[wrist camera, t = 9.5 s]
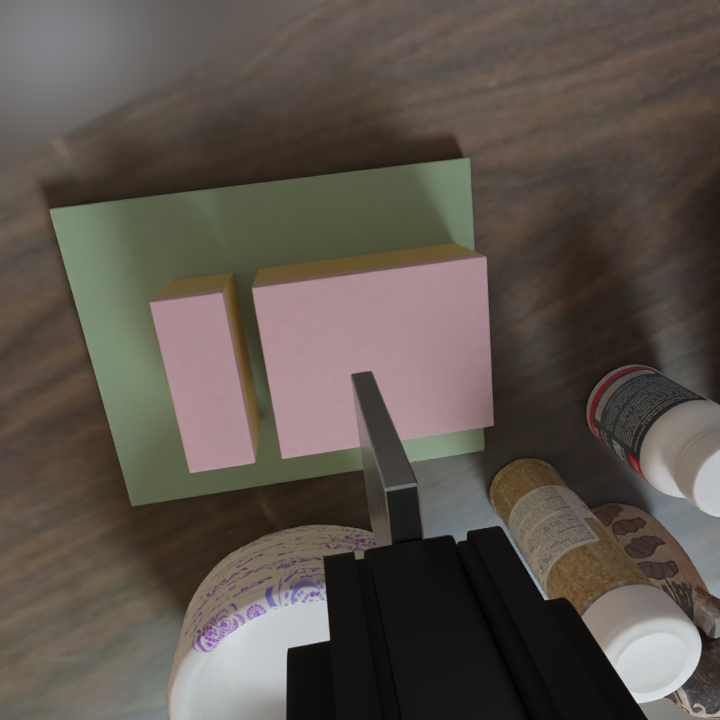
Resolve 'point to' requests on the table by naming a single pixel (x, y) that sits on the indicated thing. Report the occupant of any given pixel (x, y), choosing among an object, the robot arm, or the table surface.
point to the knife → (425, 590)
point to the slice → (208, 370)
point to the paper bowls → (255, 624)
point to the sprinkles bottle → (596, 579)
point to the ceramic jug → (673, 596)
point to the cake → (376, 343)
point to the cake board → (242, 257)
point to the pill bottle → (660, 432)
